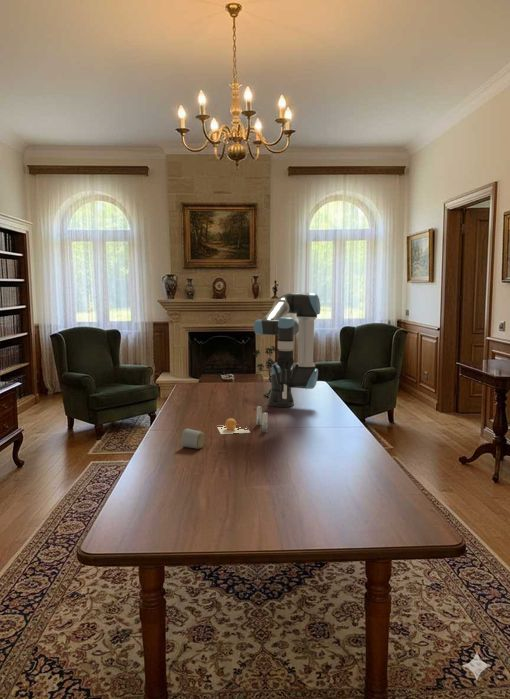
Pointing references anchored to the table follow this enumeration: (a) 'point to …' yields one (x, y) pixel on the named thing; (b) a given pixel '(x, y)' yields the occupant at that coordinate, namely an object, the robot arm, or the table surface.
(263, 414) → the post
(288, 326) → the robot arm
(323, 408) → the table surface
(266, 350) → the bonsai tree
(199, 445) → the grey cylinder
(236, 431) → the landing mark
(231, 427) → the ball
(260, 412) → the post
